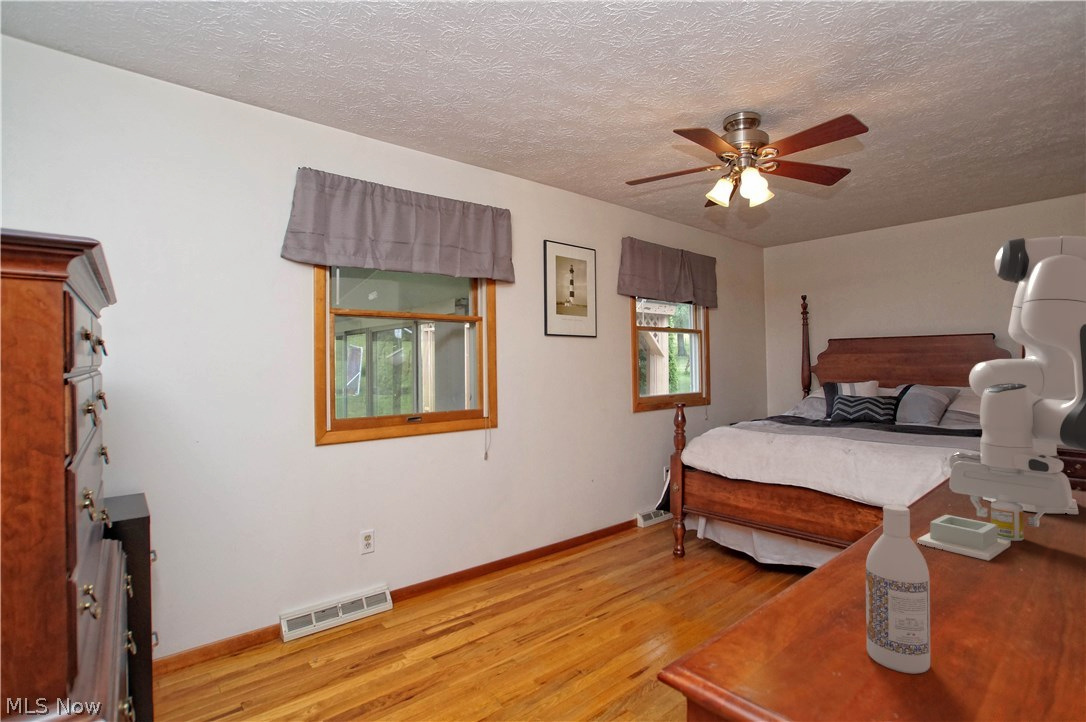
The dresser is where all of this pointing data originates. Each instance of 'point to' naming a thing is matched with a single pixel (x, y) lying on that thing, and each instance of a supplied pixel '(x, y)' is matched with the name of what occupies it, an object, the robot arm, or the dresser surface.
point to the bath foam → (898, 597)
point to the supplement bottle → (1007, 518)
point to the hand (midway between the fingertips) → (1007, 520)
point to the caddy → (965, 537)
